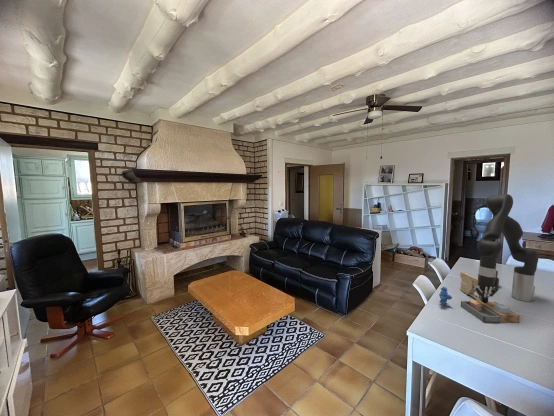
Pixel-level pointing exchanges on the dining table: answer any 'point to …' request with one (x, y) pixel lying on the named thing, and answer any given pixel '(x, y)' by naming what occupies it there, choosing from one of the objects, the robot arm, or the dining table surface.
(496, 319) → the tray
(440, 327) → the dining table surface
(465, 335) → the dining table surface
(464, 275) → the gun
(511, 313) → the board
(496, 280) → the ink bottle
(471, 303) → the cube terracotta
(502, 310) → the pale blue-gray cube
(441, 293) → the grapes
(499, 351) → the dining table surface
